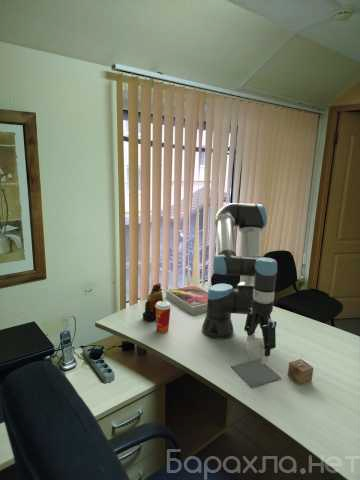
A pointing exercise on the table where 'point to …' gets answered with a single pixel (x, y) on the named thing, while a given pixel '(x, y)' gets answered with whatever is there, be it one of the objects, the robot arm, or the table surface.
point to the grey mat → (255, 373)
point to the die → (255, 348)
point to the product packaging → (189, 298)
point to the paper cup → (162, 316)
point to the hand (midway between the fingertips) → (257, 356)
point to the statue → (152, 303)
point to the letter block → (300, 372)
